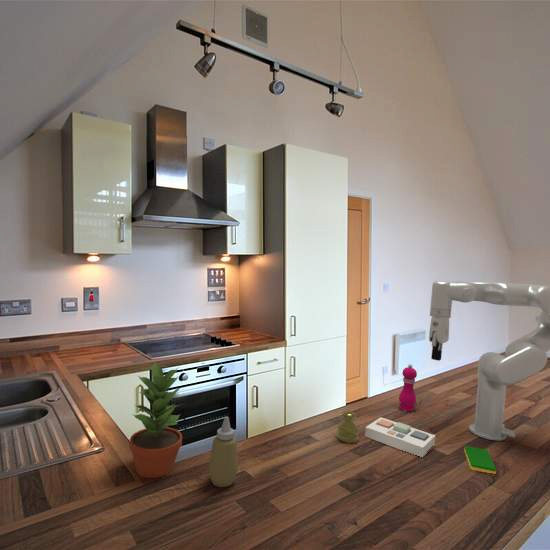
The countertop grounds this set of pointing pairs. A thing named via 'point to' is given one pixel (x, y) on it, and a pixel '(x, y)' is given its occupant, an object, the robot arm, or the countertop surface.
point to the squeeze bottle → (224, 456)
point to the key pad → (399, 438)
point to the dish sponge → (479, 460)
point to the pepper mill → (408, 389)
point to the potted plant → (156, 428)
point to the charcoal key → (419, 435)
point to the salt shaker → (348, 428)
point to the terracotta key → (385, 423)
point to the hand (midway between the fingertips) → (436, 359)
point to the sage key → (402, 428)
